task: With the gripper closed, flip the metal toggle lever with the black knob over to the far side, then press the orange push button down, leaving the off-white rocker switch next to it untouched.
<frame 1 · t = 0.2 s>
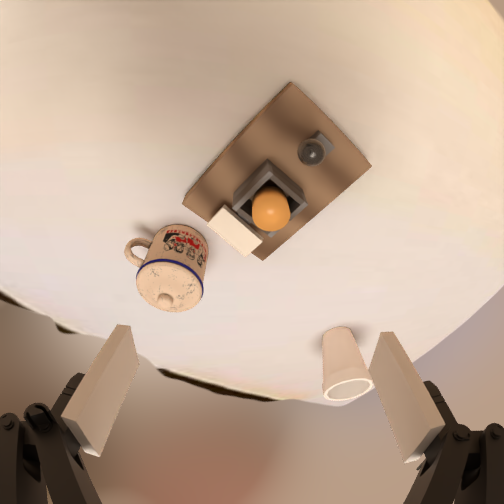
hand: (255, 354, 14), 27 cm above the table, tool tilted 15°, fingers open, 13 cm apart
toggle lever: (313, 152, 25), point 10 cm above the table, hinge at -25.0°
teacup with lid: (172, 242, 44), on the table
push button: (270, 208, 32), point 7 cm above the table, slide at 0.0 cm
rocker switch: (235, 231, 36), point 5 cm above the table, hinge at 10.0°
switch panel: (275, 174, 37), on the table
foam cup: (336, 335, 58), on the table
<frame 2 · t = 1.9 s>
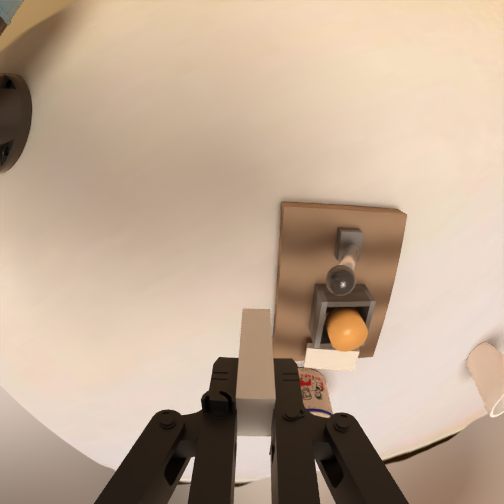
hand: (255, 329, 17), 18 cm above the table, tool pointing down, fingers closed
toggle lever: (344, 272, 23), point 10 cm above the table, hinge at -25.0°
teacup with lid: (287, 386, 42), on the table
push button: (345, 328, 29), point 7 cm above the table, slide at 0.0 cm
rocker switch: (331, 357, 33), point 5 cm above the table, hinge at 10.0°
switch panel: (333, 285, 35), on the table
foam cup: (477, 354, 41), on the table
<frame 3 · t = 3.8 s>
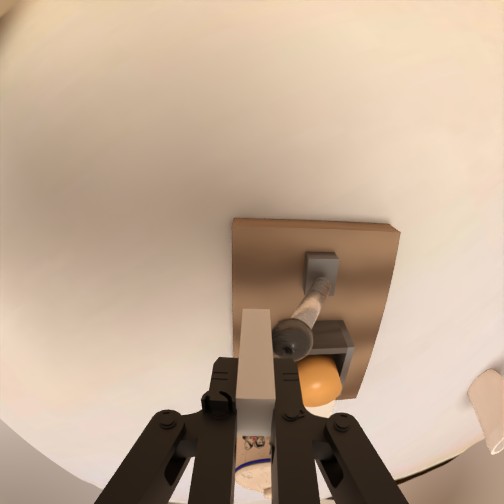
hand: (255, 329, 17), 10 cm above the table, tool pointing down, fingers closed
toggle lever: (300, 324, 17), point 10 cm above the table, hinge at -25.0°, touching gripper
teacup with lid: (259, 423, 35), on the table
push button: (314, 379, 23), point 7 cm above the table, slide at 0.0 cm
rocker switch: (301, 404, 27), point 5 cm above the table, hinge at 10.0°
switch panel: (305, 319, 29), on the table
foam cup: (481, 382, 34), on the table
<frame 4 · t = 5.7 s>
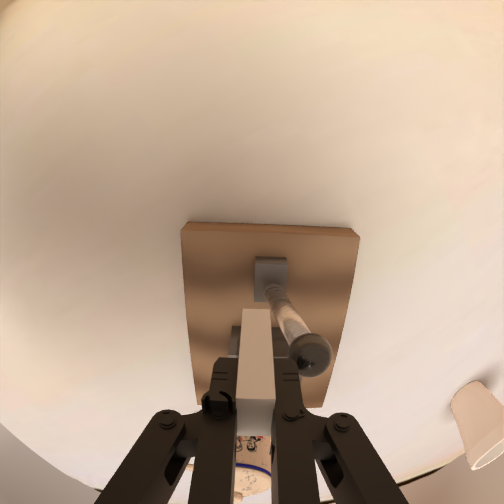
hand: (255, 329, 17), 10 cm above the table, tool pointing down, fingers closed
toggle lever: (299, 337, 16), point 11 cm above the table, hinge at 13.4°
teacup with lid: (227, 426, 35), on the table
switch panel: (264, 324, 28), on the table
foam cup: (465, 394, 34), on the table
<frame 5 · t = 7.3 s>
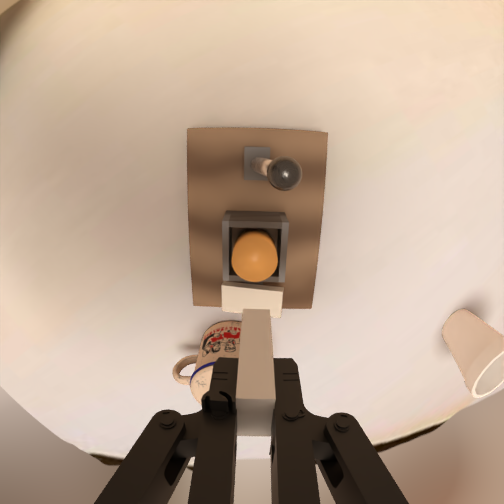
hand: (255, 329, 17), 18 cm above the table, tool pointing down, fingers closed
toggle lever: (277, 170, 21), point 11 cm above the table, hinge at 13.5°
teacup with lid: (222, 344, 40), on the table
push button: (254, 254, 27), point 7 cm above the table, slide at 0.0 cm
rocker switch: (252, 299, 31), point 5 cm above the table, hinge at 10.0°
switch panel: (255, 219, 33), on the table
foam cup: (455, 324, 39), on the table
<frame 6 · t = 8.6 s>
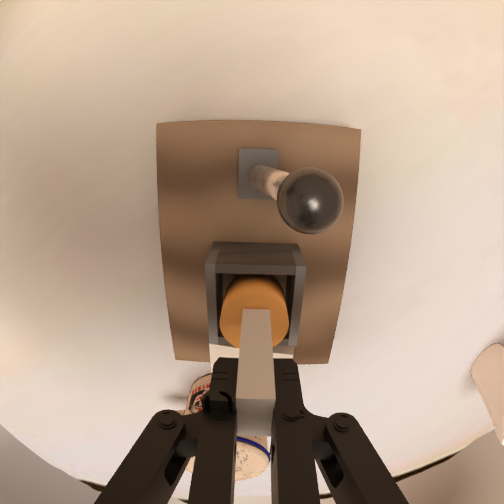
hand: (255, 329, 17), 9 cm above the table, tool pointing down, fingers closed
toggle lever: (294, 192, 12), point 11 cm above the table, hinge at 13.5°
teacup with lid: (215, 396, 31), on the table
push button: (254, 311, 18), point 7 cm above the table, slide at 0.2 cm, touching gripper
rocker switch: (251, 361, 22), point 5 cm above the table, hinge at 10.0°
switch panel: (255, 249, 24), on the table
foam cup: (486, 359, 30), on the table
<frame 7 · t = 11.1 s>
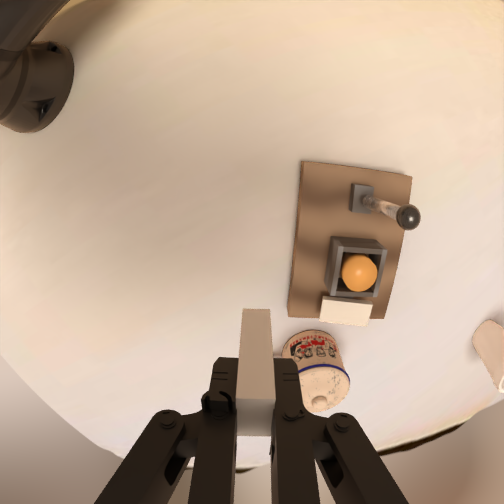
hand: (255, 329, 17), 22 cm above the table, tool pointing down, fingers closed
toggle lever: (397, 213, 25), point 11 cm above the table, hinge at 13.5°
teacup with lid: (300, 351, 44), on the table
push button: (357, 270, 33), point 6 cm above the table, slide at 1.3 cm
rocker switch: (345, 311, 36), point 5 cm above the table, hinge at 10.0°
switch panel: (346, 243, 38), on the table
foam cup: (483, 332, 43), on the table
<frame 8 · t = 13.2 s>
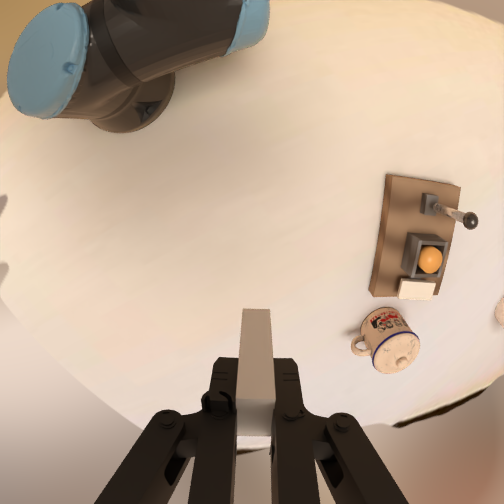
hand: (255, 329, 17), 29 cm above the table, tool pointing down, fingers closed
toggle lever: (462, 217, 33), point 11 cm above the table, hinge at 13.5°
teacup with lid: (373, 326, 52), on the table
push button: (427, 257, 40), point 6 cm above the table, slide at 1.3 cm
rocker switch: (416, 289, 43), point 5 cm above the table, hinge at 10.0°
switch panel: (413, 237, 45), on the table
foam cup: (502, 306, 51), on the table
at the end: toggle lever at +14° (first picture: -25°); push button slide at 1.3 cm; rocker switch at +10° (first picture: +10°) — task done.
